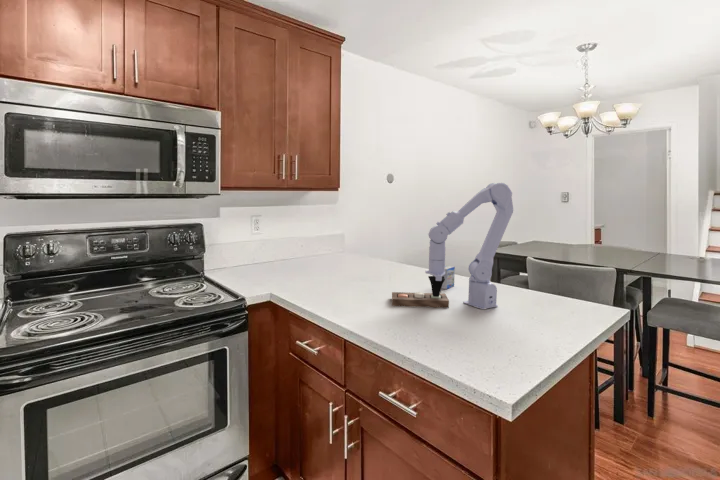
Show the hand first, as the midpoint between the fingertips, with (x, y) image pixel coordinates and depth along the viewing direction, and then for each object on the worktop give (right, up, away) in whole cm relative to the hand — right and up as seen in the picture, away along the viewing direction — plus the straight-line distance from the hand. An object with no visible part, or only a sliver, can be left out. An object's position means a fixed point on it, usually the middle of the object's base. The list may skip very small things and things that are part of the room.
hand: (435, 296), depth 144 cm
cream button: (-6, -3, +1) cm, 7 cm away
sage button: (0, -3, 0) cm, 3 cm away
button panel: (-6, -3, +1) cm, 7 cm away
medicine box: (+9, 0, +26) cm, 27 cm away
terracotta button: (-12, -3, +1) cm, 12 cm away
